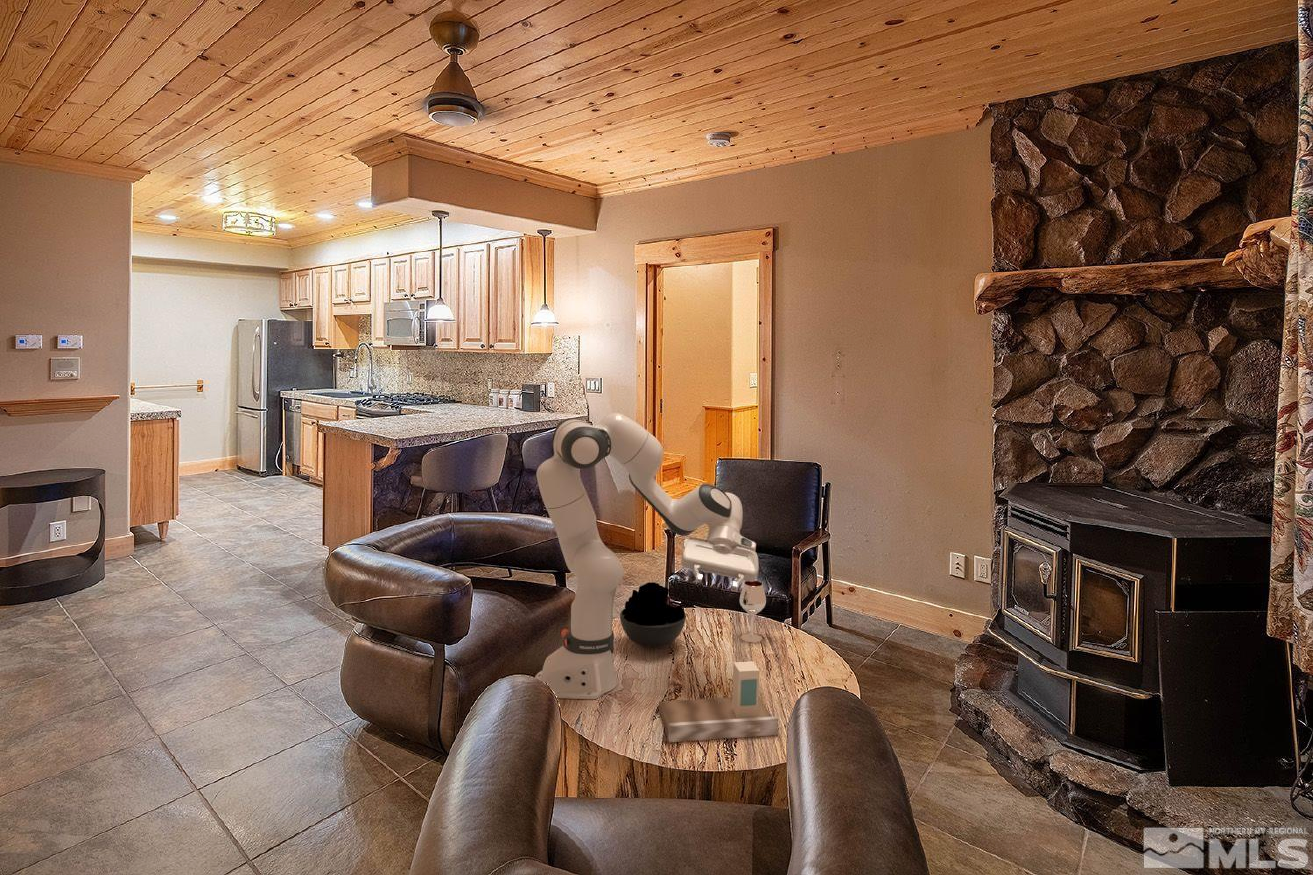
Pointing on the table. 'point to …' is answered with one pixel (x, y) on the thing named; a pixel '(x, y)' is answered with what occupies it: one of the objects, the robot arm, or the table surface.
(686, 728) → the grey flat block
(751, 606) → the wineglass
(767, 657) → the table surface
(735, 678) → the carton
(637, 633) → the coal bowl
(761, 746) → the table surface
